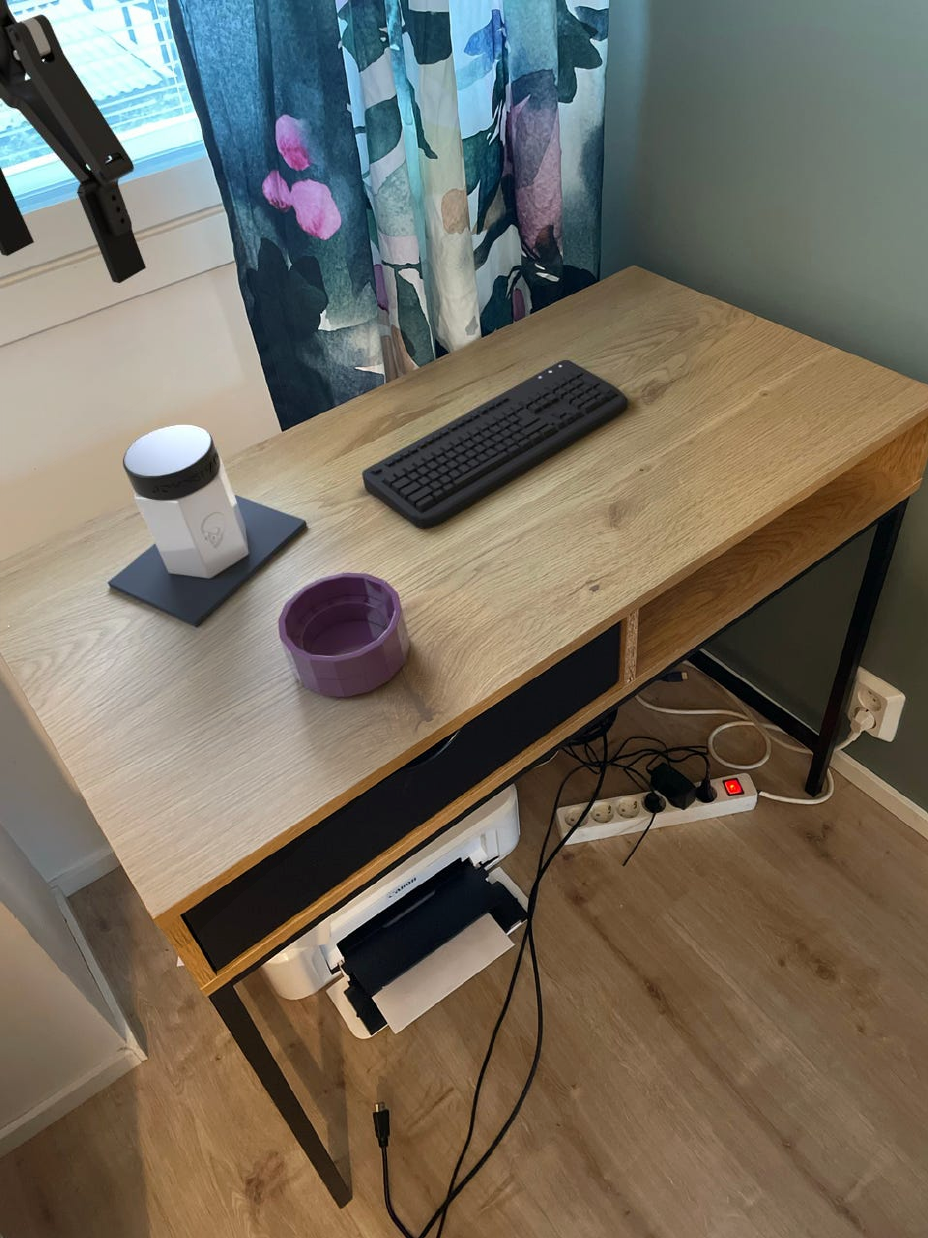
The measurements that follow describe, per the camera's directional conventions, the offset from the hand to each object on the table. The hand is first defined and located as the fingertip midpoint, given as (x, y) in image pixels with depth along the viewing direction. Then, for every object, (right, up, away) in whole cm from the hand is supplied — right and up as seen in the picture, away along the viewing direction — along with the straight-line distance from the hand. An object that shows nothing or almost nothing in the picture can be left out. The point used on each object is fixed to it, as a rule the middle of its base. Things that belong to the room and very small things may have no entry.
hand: (71, 261), depth 71 cm
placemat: (+6, -22, +18) cm, 29 cm away
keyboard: (+35, -10, +26) cm, 45 cm away
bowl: (+21, -31, +7) cm, 38 cm away
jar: (+6, -22, +18) cm, 29 cm away
